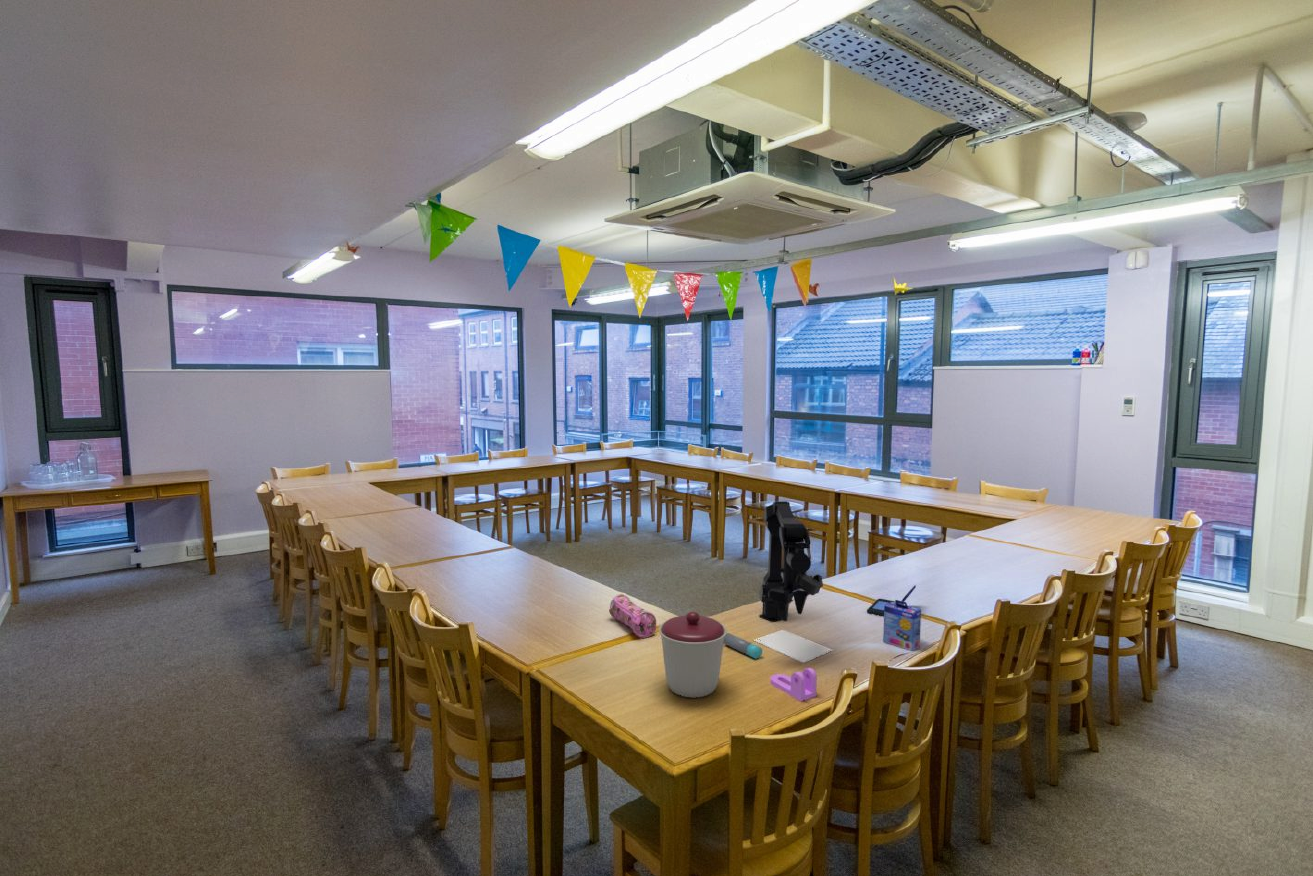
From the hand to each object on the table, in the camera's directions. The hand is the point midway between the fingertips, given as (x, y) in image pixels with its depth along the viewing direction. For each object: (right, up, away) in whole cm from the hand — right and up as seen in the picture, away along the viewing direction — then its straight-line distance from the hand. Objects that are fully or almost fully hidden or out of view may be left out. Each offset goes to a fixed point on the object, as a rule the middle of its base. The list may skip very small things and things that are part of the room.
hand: (792, 617), depth 189 cm
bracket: (-4, -14, -19) cm, 24 cm away
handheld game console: (+44, -9, +40) cm, 60 cm away
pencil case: (-48, -10, +23) cm, 55 cm away
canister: (-31, -14, -19) cm, 39 cm away
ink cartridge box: (+36, -12, +10) cm, 39 cm away
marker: (-15, -12, +6) cm, 20 cm away
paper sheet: (+2, -11, +9) cm, 15 cm away
